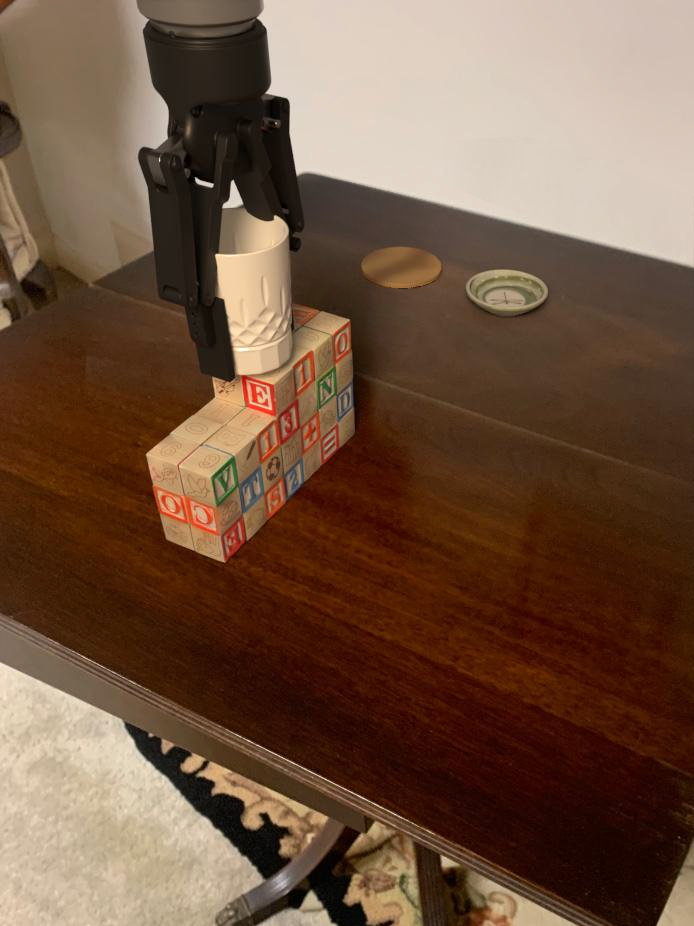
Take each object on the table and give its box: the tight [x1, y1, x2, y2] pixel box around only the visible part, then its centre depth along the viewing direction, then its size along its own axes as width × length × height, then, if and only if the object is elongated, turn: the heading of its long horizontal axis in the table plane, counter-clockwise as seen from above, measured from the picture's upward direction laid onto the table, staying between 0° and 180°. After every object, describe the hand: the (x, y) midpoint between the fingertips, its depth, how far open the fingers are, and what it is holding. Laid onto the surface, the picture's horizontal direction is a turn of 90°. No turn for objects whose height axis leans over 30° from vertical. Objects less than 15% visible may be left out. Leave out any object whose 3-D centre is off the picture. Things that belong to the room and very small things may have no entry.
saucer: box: [465, 269, 549, 318], centre depth 104 cm, size 10×10×2 cm
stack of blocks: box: [145, 302, 356, 563], centre depth 76 cm, size 21×6×12 cm, turn 154°
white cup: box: [197, 207, 292, 375], centre depth 67 cm, size 8×8×10 cm
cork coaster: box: [360, 246, 443, 289], centre depth 110 cm, size 10×10×1 cm
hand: (249, 350), depth 71 cm, fingers closed on white cup, 8 cm apart
